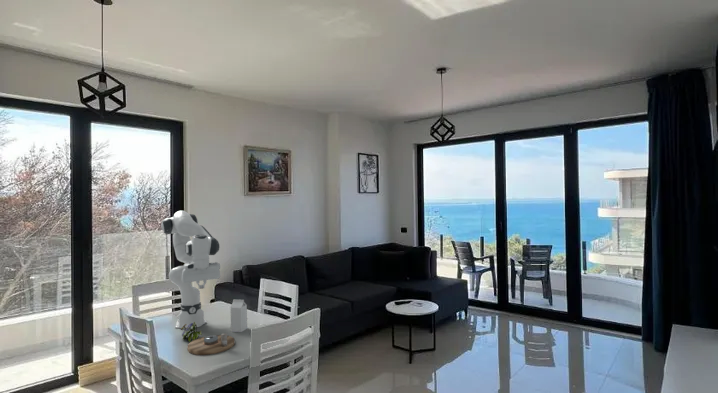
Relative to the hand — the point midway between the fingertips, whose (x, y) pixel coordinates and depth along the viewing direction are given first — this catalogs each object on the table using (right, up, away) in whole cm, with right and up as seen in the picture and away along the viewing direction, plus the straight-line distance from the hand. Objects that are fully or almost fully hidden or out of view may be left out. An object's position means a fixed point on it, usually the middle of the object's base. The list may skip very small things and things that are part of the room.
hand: (201, 288), depth 226 cm
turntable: (+8, -30, -6) cm, 32 cm away
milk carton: (+15, -31, +21) cm, 40 cm away
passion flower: (-9, -31, +7) cm, 33 cm away
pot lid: (+8, -28, -6) cm, 30 cm away
